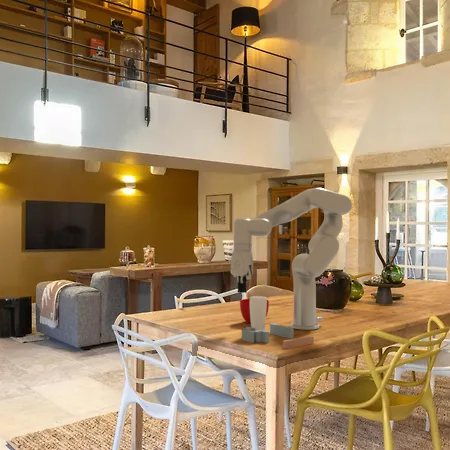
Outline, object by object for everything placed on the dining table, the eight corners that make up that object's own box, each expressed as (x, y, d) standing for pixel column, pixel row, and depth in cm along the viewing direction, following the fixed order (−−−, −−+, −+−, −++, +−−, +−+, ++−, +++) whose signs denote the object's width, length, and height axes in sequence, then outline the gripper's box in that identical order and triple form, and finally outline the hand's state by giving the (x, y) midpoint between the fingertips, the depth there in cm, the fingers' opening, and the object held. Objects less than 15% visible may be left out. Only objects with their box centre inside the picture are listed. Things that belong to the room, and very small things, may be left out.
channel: (272, 333, 209) (272, 323, 209) (313, 343, 191) (313, 332, 191) (237, 338, 198) (237, 328, 198) (277, 350, 180) (277, 338, 180)
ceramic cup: (266, 318, 242) (266, 297, 242) (270, 325, 225) (270, 302, 225) (238, 318, 241) (238, 297, 241) (240, 325, 224) (240, 302, 224)
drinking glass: (256, 332, 210) (256, 295, 211) (269, 334, 206) (269, 297, 206) (246, 334, 205) (246, 297, 205) (259, 337, 201) (260, 298, 201)
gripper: (224, 247, 218) (224, 291, 218) (246, 249, 206) (246, 295, 206) (238, 247, 222) (238, 290, 222) (261, 248, 210) (260, 293, 210)
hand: (241, 292), depth 214 cm, fingers closed
